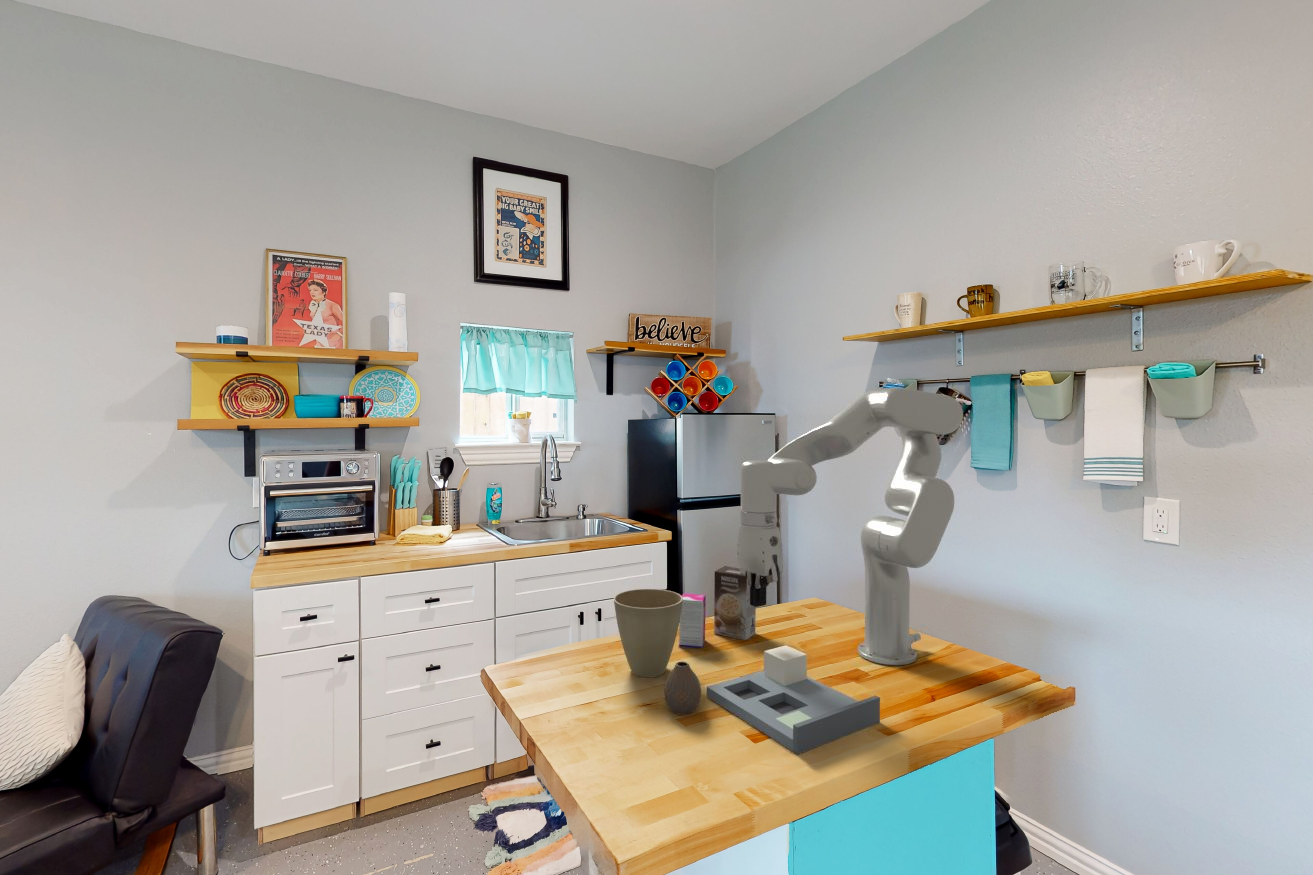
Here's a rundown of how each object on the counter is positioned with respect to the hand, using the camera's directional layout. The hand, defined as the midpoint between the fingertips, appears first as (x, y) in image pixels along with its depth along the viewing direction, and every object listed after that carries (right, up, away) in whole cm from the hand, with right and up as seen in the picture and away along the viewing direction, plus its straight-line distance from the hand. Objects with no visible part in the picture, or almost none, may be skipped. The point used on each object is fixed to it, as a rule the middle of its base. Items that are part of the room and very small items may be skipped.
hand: (758, 604), depth 134 cm
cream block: (+4, -13, -6) cm, 15 cm away
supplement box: (-13, -14, +18) cm, 27 cm away
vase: (-17, -16, -16) cm, 28 cm away
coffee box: (-2, -14, +25) cm, 29 cm away
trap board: (+3, -15, -15) cm, 22 cm away
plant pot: (-23, -15, +3) cm, 28 cm away
